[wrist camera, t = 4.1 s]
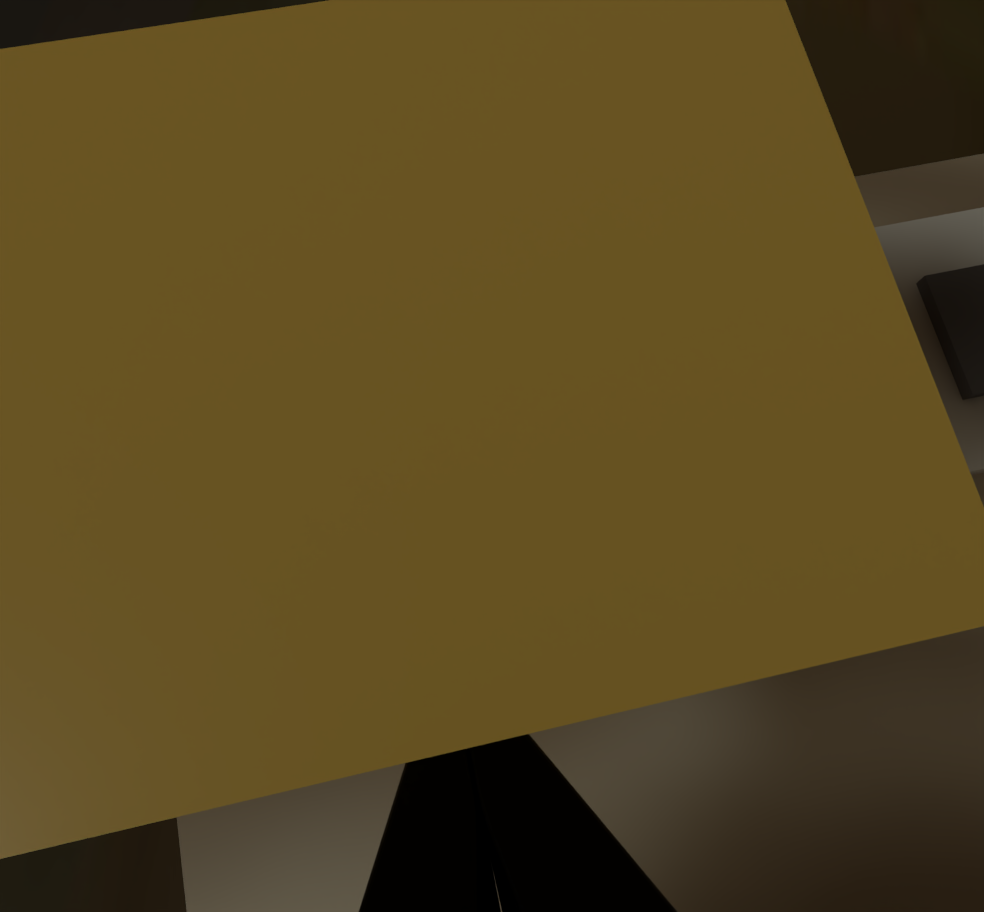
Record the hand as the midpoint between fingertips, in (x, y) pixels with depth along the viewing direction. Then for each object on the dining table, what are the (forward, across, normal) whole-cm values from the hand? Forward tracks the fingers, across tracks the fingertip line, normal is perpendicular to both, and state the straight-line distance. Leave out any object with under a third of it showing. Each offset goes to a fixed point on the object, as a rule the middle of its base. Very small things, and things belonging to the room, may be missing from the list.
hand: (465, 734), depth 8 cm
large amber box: (+5, 0, +2) cm, 6 cm away
